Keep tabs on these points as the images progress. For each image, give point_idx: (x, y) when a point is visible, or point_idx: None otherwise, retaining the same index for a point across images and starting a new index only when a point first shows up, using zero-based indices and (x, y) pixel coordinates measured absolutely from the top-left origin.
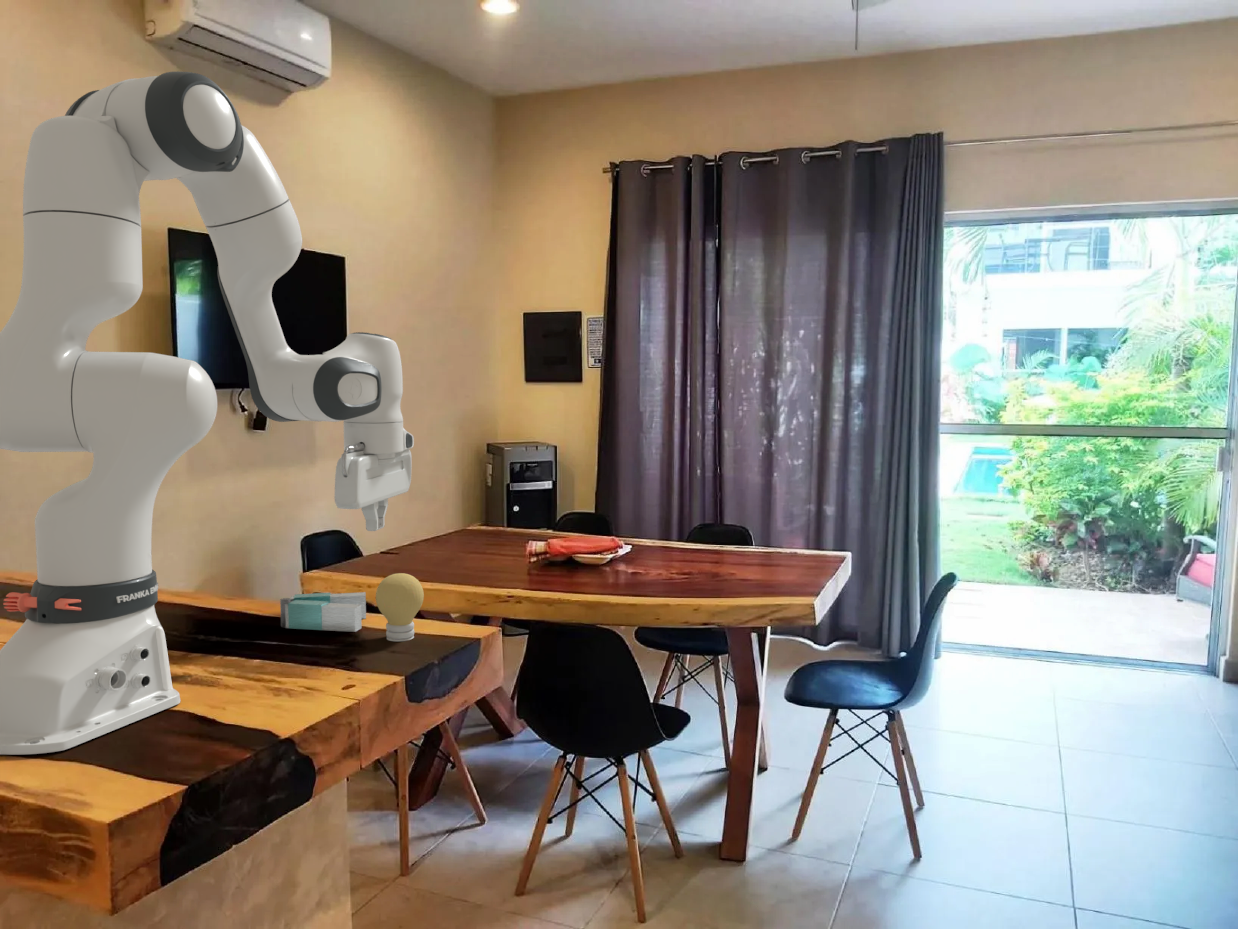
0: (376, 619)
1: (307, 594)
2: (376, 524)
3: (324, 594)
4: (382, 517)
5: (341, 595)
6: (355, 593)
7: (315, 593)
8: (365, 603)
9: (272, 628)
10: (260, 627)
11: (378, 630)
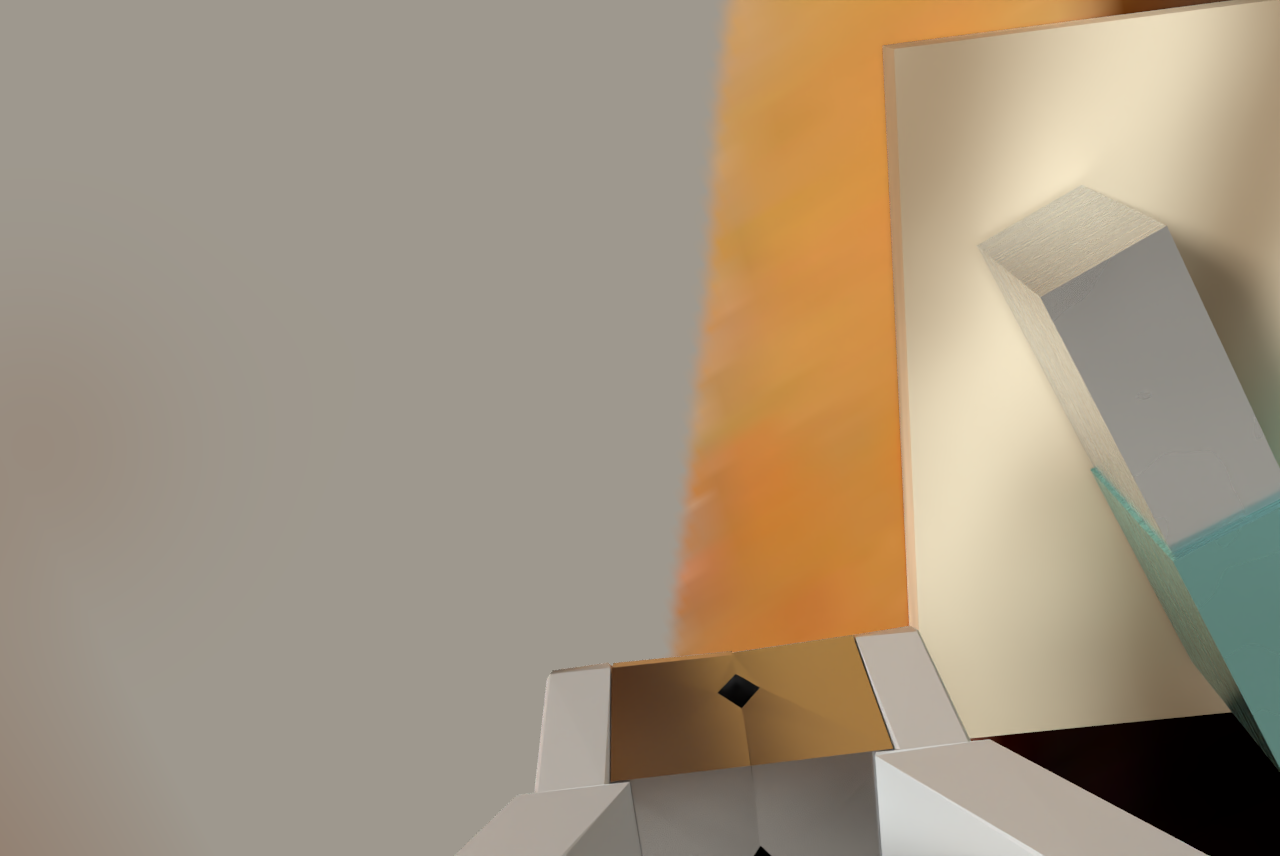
0: (839, 209)
1: (1272, 693)
2: (941, 685)
3: (1259, 566)
4: (632, 785)
5: (1212, 435)
6: (1112, 358)
7: (1230, 654)
8: (1132, 212)
9: (1222, 737)
10: (1209, 811)
11: (1161, 2)
